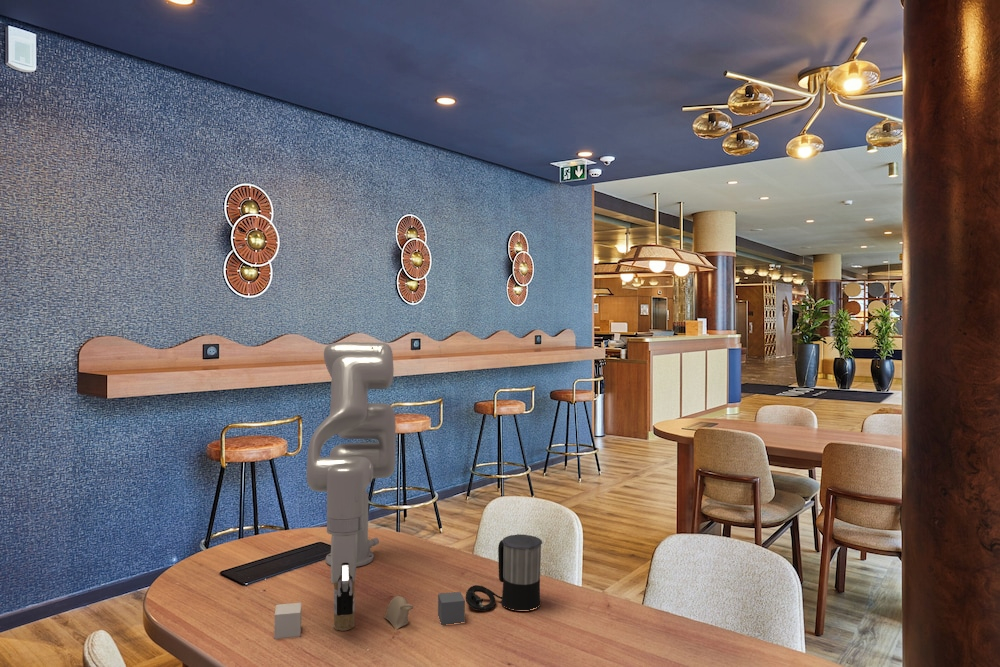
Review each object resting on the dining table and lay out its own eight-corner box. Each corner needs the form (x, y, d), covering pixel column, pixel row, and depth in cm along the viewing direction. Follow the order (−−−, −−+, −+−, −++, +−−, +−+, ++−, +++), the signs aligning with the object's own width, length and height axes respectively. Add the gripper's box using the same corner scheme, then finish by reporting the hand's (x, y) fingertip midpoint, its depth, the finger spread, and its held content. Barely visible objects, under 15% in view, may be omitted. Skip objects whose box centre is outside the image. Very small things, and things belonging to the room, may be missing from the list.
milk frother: (549, 604, 154) (550, 540, 153) (502, 626, 142) (503, 557, 142) (504, 587, 163) (505, 526, 163) (457, 606, 152) (458, 541, 152)
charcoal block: (437, 616, 147) (438, 593, 147) (460, 614, 148) (460, 591, 148) (441, 626, 142) (441, 602, 142) (464, 624, 143) (464, 600, 143)
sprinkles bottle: (358, 628, 140) (359, 564, 140) (337, 633, 138) (338, 568, 138) (350, 620, 144) (351, 558, 144) (329, 625, 142) (330, 562, 142)
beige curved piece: (401, 613, 148) (401, 589, 148) (415, 628, 141) (416, 603, 141) (383, 617, 146) (384, 593, 146) (397, 632, 139) (397, 607, 139)
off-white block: (276, 628, 140) (276, 604, 140) (301, 626, 141) (301, 602, 141) (274, 639, 135) (274, 614, 135) (300, 636, 136) (300, 612, 136)
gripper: (327, 512, 148) (326, 590, 148) (326, 537, 131) (325, 625, 132) (361, 511, 150) (360, 587, 150) (365, 534, 133) (364, 621, 133)
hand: (344, 604), depth 141 cm, fingers open, 8 cm apart
